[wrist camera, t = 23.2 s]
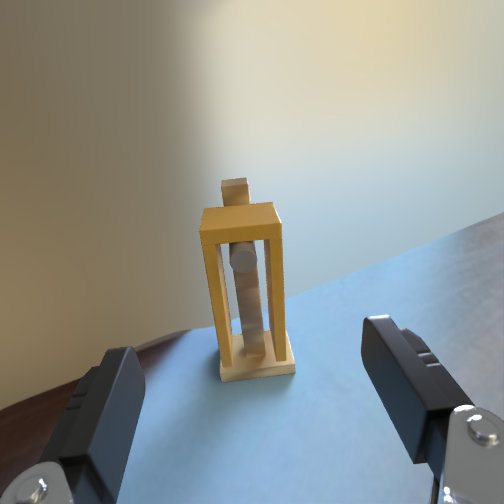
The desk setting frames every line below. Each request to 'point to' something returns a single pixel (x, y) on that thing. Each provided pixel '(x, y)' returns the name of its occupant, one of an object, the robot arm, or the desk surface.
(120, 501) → the desk surface
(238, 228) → the yellow goalpost frame
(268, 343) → the rack
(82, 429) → the robot arm
